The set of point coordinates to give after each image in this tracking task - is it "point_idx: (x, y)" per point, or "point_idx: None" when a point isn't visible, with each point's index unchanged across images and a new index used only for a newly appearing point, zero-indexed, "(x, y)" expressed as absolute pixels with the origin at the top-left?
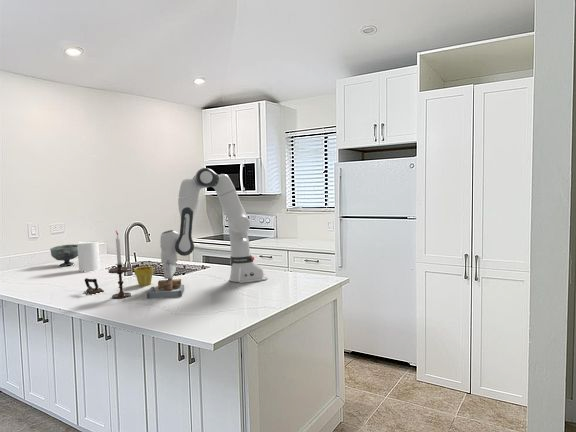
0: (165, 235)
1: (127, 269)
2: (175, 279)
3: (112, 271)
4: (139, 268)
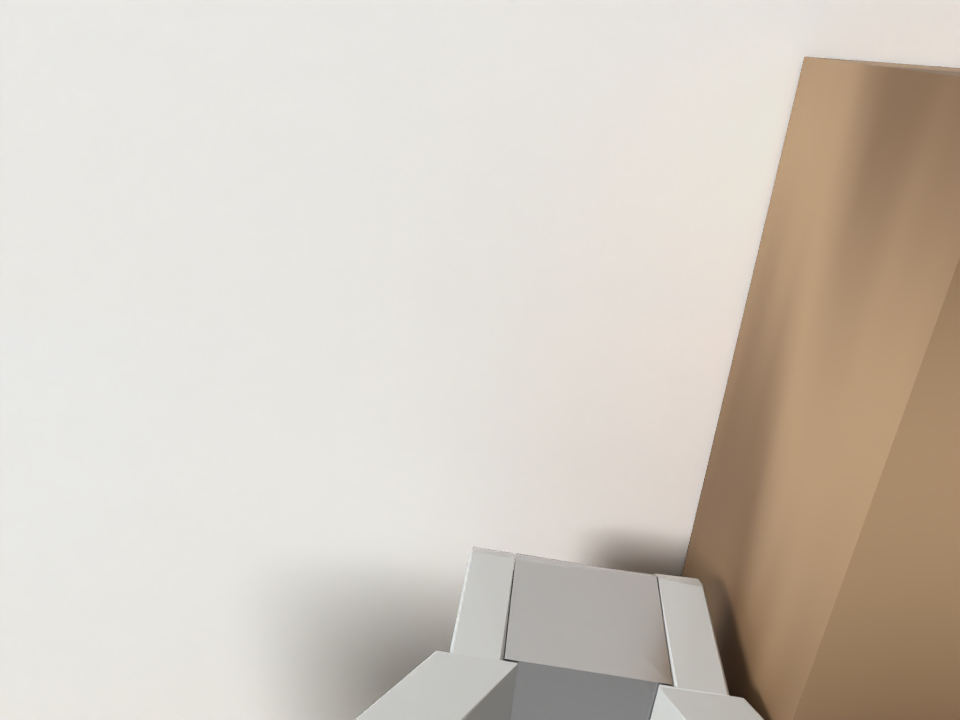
0: None
1: None
2: (876, 547)
3: None
4: None
